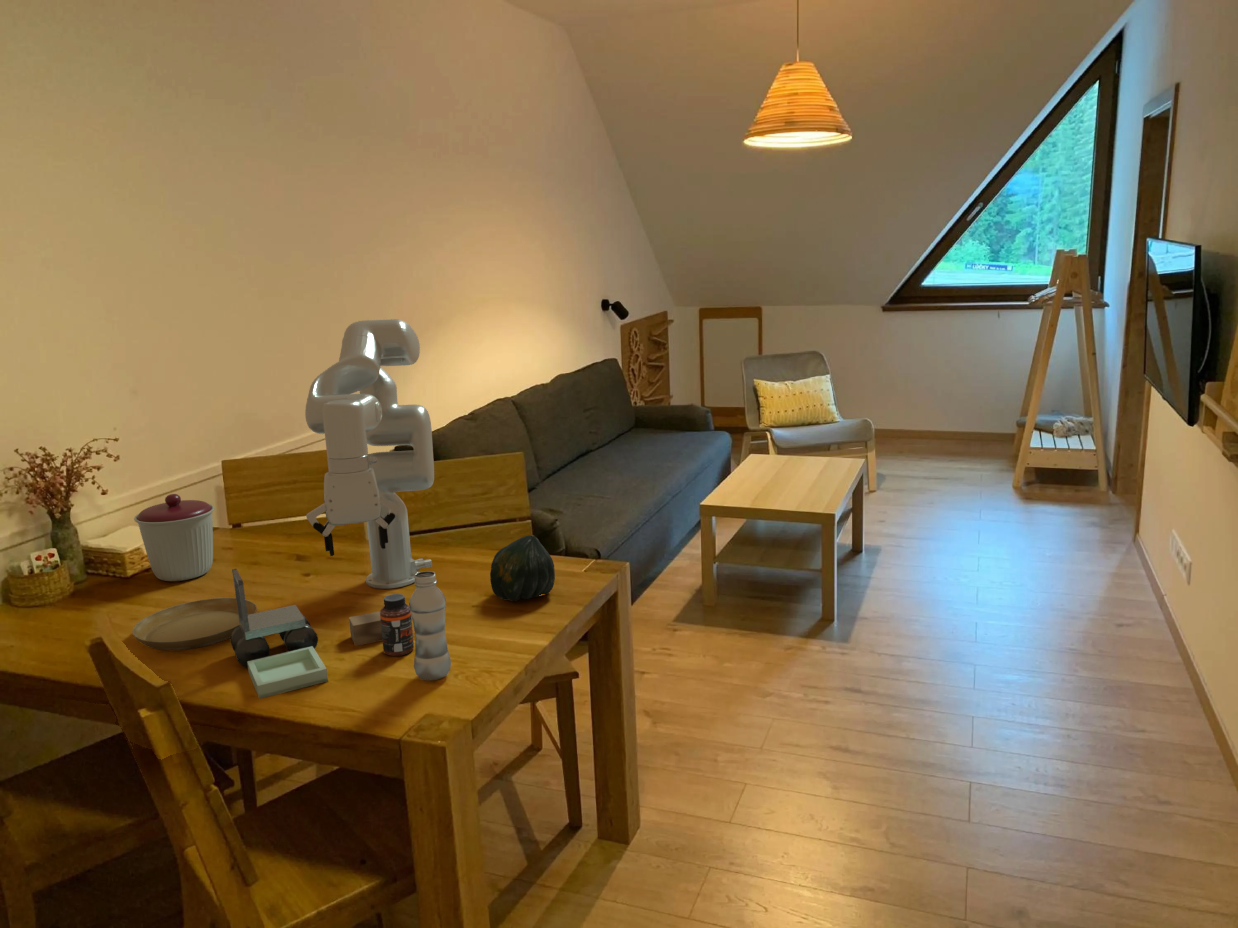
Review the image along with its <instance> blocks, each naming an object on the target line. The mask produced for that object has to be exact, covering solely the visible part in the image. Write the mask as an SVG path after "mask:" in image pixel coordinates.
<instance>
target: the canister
mask: <svg viewBox="0 0 1238 928" xmlns="http://www.w3.org/2000/svg"><path fill="white" fill-rule="evenodd" d="M214 511H215V506H214V505H213V504H211V503H208V502H206V501H202V500H195V499H187V500H186V499H185V500H182V498H181V496H180V495H179V494H177V493H170V494H167V495H166V497H165V498H164V502H162V503H159V504H154V505H152V506H149V507H146V508H144V509H143V510H141V511H140V512H139V513H138V514H136V515H135V516H134V518H133V519H134V522H136V523H137V525H138V528H139V531H140V535H141V538H142V539H141V540H142V542H143V546H144V549H145V552H146V555H147V558H148V562H149V564H150V568H151V571H152V573H153V574H154V575H155V577H156V578H157V579H159V580H161V581H165V582H180V581H181V582H182V581H188V580H191V579H195V578H198V577H201V576H203V575H205V574H207V573H208V572H209V571H210V570H211V568H212V566H213V563H214V531H213V529H214V527H213V526H214V525H213V522H214V521H213V512H214Z"/></svg>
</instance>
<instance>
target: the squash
mask: <svg viewBox="0 0 1238 928" xmlns="http://www.w3.org/2000/svg"><path fill="white" fill-rule="evenodd" d="M490 566H491V567H490V572H489V575H490V577H489V578H490V579H489V581H490V584H491V585H490V587H491V590H492V592H493V594H494V595H495V596H496V597H497V598H498V599H501V600H504V599H509V601H510V602H517V601H519V600H520V599H521V598H522V599H524V600H530V599H531V598H537V596H539V595H541V594H546V595H547V593H548V594H549V593H550V592H551V591H552V590H553V588H554V584H555V582H556V581H555V579H556V573H555V572H556V570H555V564H554V561H553V558H552V557H551V555H550V553H549V552H548V550H547V549H546V548H545V546H543V544H542V543H541V542H540V540H539V539H538V538H537V537H536V536H535V535H533V534H531V535H524V536H523V537H520V538H518V539H516V540H514V541H513V542H511V543H509V544H508V545H506V546H505V547H502V548H501V549H500V550H498V551H497V552H496V553H495V554H494V556H493V559H492V562H491V563H490Z"/></svg>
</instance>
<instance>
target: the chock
mask: <svg viewBox="0 0 1238 928" xmlns="http://www.w3.org/2000/svg"><path fill="white" fill-rule="evenodd" d="M380 611H381V610H379V611H374V612H370V613H365V614H360V615H354V616H349V617H348V622H349V630H350V638H351V639H352V642H353V644H354V647H357V646H362V645H365V644H366V645H367V644H371V643H372V644H373V643H375V642H376V643H377V642H380V641H381V642H382V630H381V619H380Z"/></svg>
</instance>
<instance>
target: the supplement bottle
mask: <svg viewBox="0 0 1238 928" xmlns="http://www.w3.org/2000/svg"><path fill="white" fill-rule="evenodd" d="M383 605H384V606H383V607H382V608H381V609H380V610H379V611H380V619H381V630H382V640H381V642H382V649H383V653H384V654H385V655H387V656H389V657H400V656H405V655H407V654H409V653H411V652H412V651H413V650H414V649H415V643H414V633H413V632H414V631H413V630H414V629H413V620H412V616H411V612H410V607H409V604H407V603H406V598H405V595H404V594H402V593H393V594H392V593H391V594H387V595H386V596H385V597H383Z"/></svg>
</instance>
